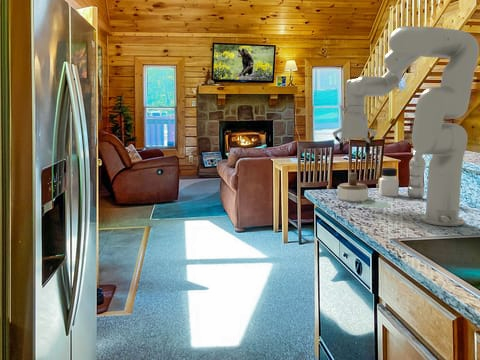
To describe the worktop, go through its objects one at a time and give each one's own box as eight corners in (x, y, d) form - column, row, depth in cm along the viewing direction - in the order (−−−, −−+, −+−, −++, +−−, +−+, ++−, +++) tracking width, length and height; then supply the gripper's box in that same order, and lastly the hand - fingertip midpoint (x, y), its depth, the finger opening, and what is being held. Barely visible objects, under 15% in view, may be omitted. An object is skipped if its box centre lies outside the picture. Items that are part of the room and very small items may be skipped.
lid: (367, 189, 161) (368, 175, 160) (339, 189, 164) (339, 174, 163) (365, 185, 172) (365, 171, 171) (338, 185, 174) (339, 171, 173)
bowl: (368, 202, 162) (369, 190, 161) (337, 201, 164) (338, 189, 163) (365, 196, 173) (366, 185, 172) (337, 196, 176) (337, 184, 175)
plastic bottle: (420, 196, 172) (423, 150, 169) (426, 199, 165) (429, 151, 162) (405, 196, 173) (407, 150, 170) (410, 199, 166) (412, 151, 163)
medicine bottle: (398, 196, 173) (399, 169, 171) (380, 196, 174) (382, 168, 172) (395, 193, 180) (396, 167, 178) (378, 193, 181) (379, 166, 179)
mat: (390, 208, 150) (390, 207, 150) (362, 207, 153) (362, 206, 152) (386, 202, 160) (387, 202, 160) (360, 202, 162) (360, 201, 162)
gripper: (333, 110, 161) (332, 153, 164) (378, 109, 158) (377, 153, 160) (332, 111, 169) (332, 152, 171) (376, 110, 165) (375, 151, 167)
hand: (354, 152), depth 166 cm, fingers open, 9 cm apart
